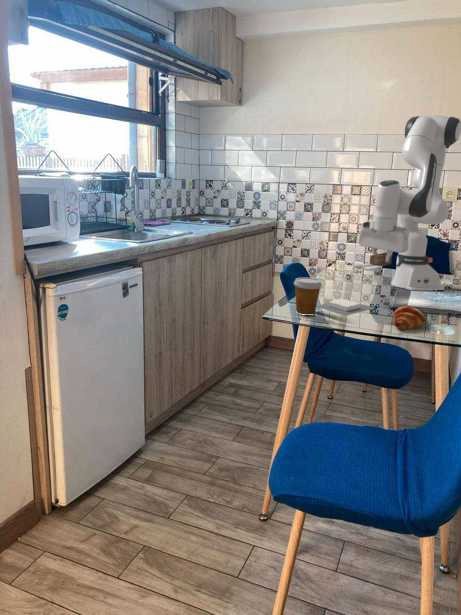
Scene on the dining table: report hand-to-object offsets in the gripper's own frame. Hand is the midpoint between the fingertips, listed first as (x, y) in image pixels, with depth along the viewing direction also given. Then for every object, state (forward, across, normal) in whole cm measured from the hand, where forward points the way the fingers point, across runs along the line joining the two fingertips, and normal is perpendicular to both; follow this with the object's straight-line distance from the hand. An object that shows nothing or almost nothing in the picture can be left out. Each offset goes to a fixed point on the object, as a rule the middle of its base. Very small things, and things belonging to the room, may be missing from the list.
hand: (380, 260), depth 196 cm
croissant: (+15, -25, +19) cm, 35 cm away
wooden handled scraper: (+2, 0, +4) cm, 4 cm away
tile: (+13, -2, +19) cm, 23 cm away
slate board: (+15, -2, +22) cm, 27 cm away
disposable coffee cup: (+15, +3, +39) cm, 42 cm away
